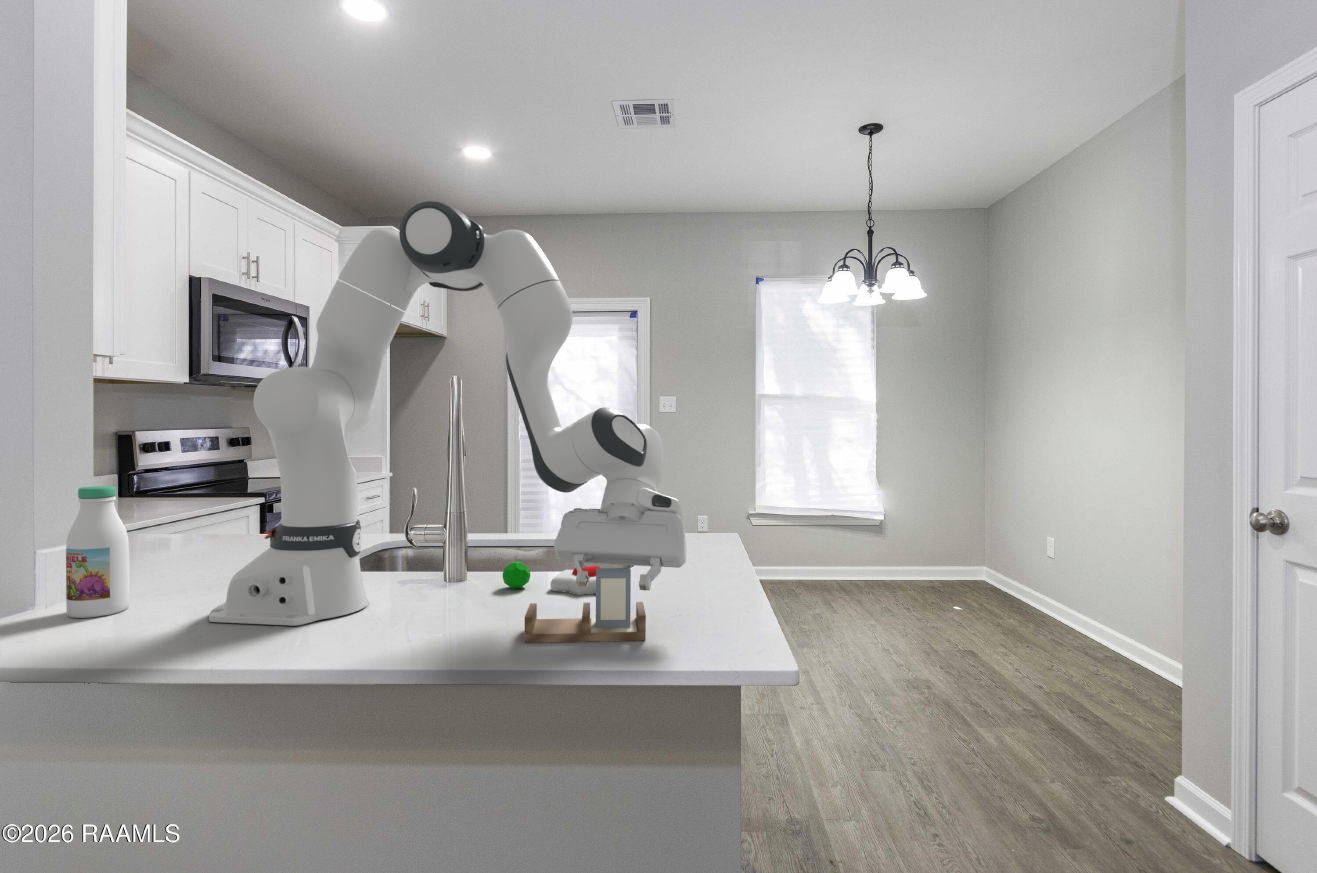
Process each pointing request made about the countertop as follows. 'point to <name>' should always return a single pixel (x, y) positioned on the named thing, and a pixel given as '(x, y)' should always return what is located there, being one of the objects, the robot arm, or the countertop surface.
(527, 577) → the polyhedron
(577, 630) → the wooden rack
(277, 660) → the countertop surface
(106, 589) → the milk bottle
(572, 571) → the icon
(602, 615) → the frame
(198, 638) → the countertop surface
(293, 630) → the countertop surface
